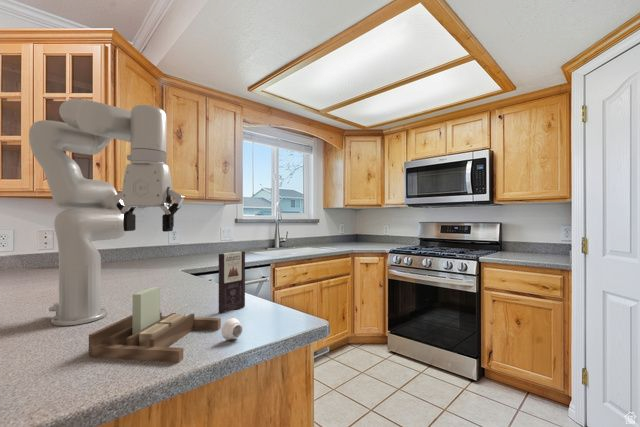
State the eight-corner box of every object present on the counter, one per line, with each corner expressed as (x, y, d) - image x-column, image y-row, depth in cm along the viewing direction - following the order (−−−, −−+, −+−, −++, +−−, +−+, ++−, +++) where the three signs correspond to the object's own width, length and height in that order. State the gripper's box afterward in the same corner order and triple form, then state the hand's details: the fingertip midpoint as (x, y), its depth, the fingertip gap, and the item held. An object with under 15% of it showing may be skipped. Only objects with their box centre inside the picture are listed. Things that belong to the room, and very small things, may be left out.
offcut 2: (159, 340, 73) (159, 322, 73) (174, 331, 79) (174, 313, 79) (171, 341, 73) (171, 322, 73) (185, 331, 79) (185, 314, 79)
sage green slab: (132, 346, 69) (132, 294, 69) (152, 334, 76) (152, 286, 76) (140, 347, 69) (140, 294, 69) (159, 335, 76) (160, 287, 76)
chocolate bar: (220, 313, 93) (220, 254, 93) (218, 312, 93) (218, 254, 93) (244, 306, 100) (244, 251, 100) (243, 306, 100) (243, 251, 100)
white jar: (238, 335, 76) (238, 315, 76) (245, 338, 74) (245, 317, 74) (220, 342, 72) (220, 321, 72) (228, 345, 70) (228, 323, 70)
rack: (88, 358, 64) (88, 334, 64) (150, 324, 83) (150, 306, 83) (179, 363, 62) (179, 338, 62) (220, 327, 81) (220, 309, 81)
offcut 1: (139, 354, 66) (139, 333, 66) (156, 342, 72) (156, 323, 72) (152, 354, 66) (152, 334, 66) (168, 343, 72) (168, 324, 72)
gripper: (102, 157, 70) (102, 231, 70) (174, 156, 68) (173, 232, 68) (126, 162, 78) (126, 229, 78) (191, 161, 76) (191, 230, 76)
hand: (148, 231), depth 73 cm, fingers open, 9 cm apart
